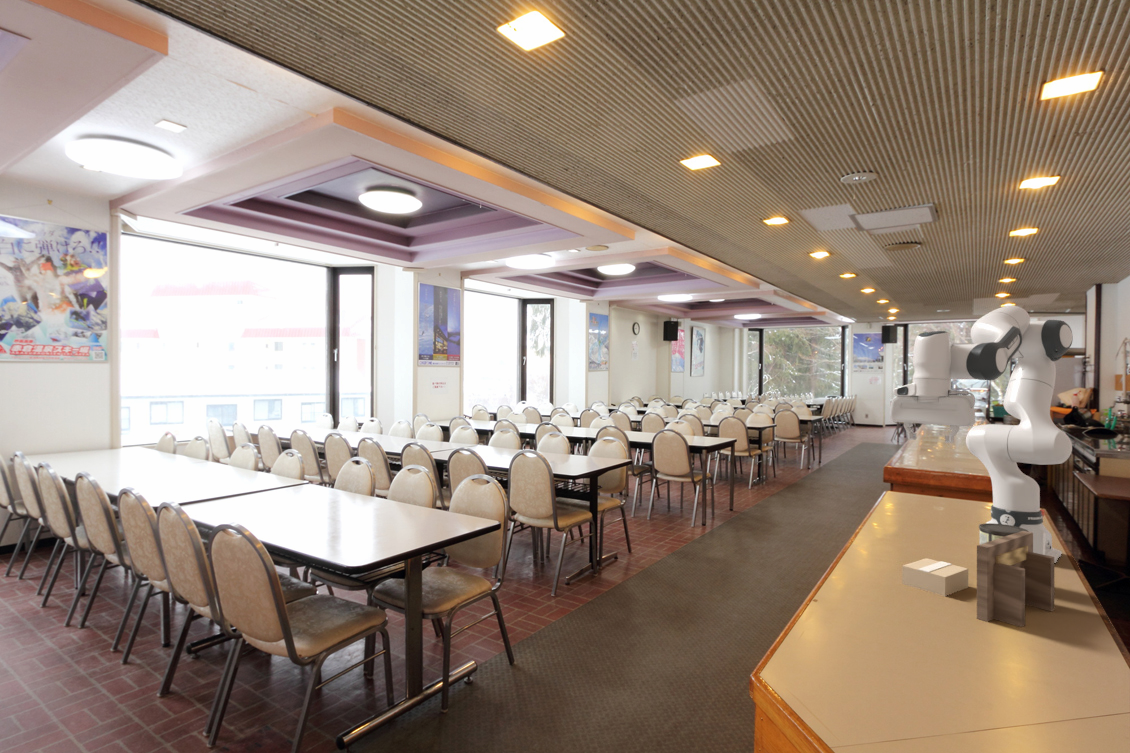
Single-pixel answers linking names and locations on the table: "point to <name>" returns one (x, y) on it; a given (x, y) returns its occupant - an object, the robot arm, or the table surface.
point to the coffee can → (996, 531)
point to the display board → (1013, 579)
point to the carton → (935, 576)
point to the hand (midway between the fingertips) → (930, 441)
